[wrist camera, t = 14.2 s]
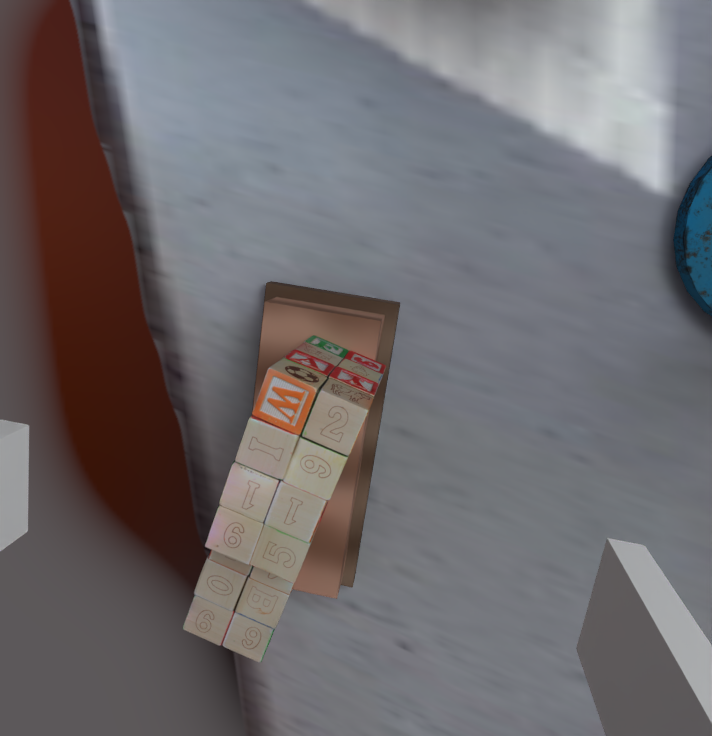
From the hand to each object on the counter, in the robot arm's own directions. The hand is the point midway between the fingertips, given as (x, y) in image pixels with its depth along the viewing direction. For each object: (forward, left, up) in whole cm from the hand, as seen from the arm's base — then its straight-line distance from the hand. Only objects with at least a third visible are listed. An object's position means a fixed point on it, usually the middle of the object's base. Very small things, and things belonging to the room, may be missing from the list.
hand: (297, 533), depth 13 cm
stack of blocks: (+13, -6, -32) cm, 35 cm away
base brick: (+12, -6, -37) cm, 39 cm away
